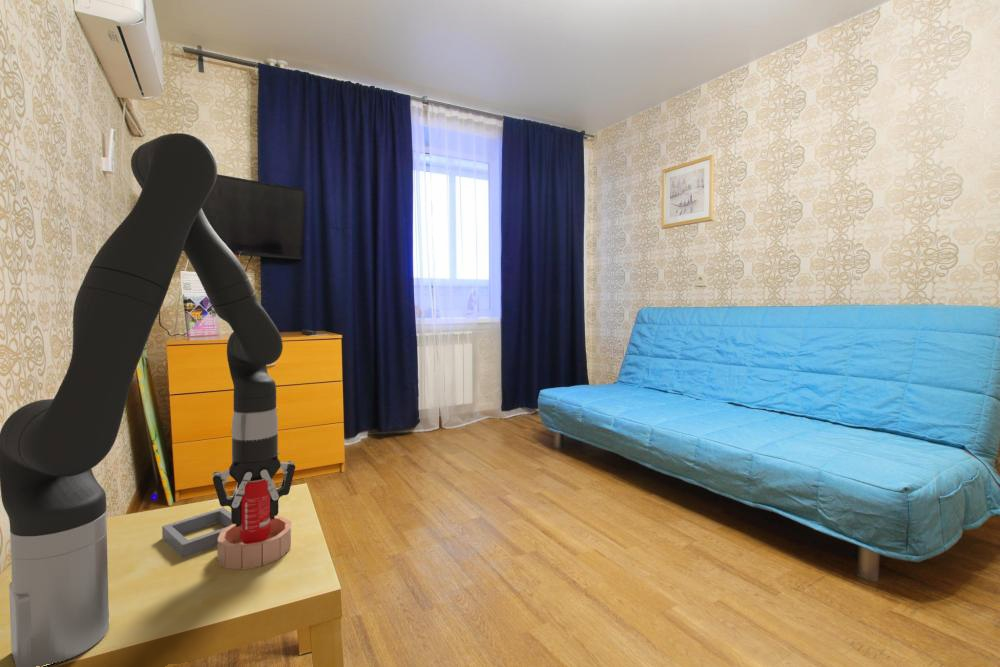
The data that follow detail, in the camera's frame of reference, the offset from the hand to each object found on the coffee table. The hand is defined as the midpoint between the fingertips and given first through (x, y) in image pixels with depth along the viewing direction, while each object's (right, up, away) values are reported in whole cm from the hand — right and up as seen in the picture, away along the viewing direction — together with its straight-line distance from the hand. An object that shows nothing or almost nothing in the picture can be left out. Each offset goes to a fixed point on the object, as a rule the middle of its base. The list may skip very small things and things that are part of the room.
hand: (255, 520), depth 84 cm
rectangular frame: (-13, -5, +5) cm, 15 cm away
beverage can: (0, -4, 0) cm, 4 cm away
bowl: (0, -6, 0) cm, 6 cm away
